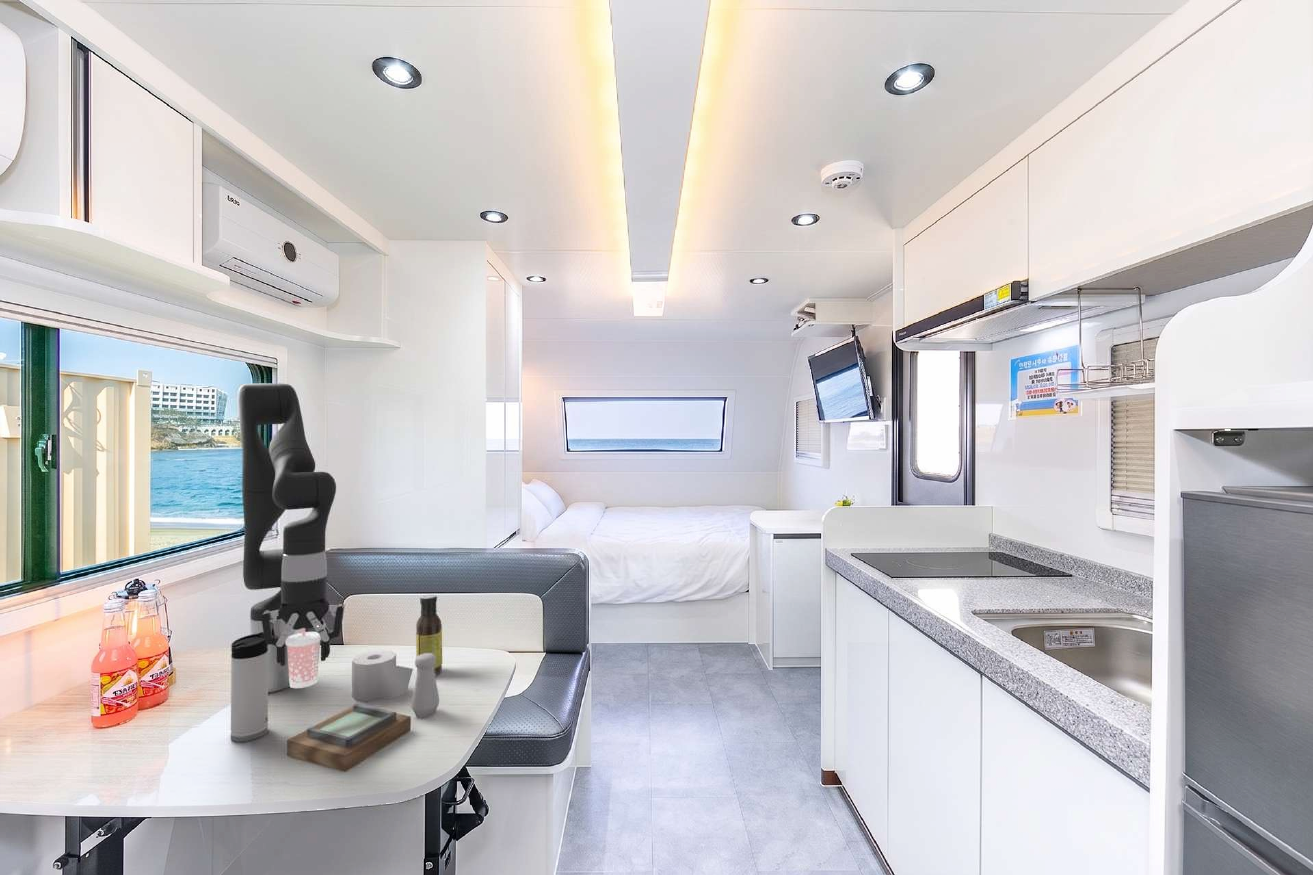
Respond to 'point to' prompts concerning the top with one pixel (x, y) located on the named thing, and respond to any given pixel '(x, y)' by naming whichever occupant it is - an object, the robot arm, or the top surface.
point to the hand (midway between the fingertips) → (304, 661)
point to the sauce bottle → (429, 631)
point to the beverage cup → (303, 658)
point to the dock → (349, 737)
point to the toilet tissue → (378, 676)
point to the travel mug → (249, 688)
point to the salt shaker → (425, 687)
